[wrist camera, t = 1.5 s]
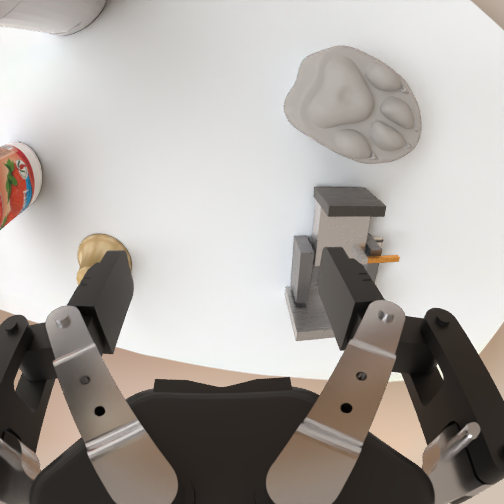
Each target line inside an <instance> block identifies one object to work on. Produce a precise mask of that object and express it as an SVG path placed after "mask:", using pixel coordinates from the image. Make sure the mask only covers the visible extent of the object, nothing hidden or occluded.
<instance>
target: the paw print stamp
mask: <svg viewBox="0 0 504 504" xmlns="http://www.w3.org/2000/svg"><path fill="white" fill-rule="evenodd" d="M284 112H285V115H286V117H287V119H288V121H289V122H290V123H291V124H292V125H293V126H294V127H295V128H296V129H298V130H299V131H301V132H302V133H304V134H306V135H307V136H309V137H310V138H312V139H313V140H315V141H317V142H318V143H320V144H322V145H324V146H325V147H327V148H329V149H330V150H332V151H334V152H336V153H338V154H340V155H342V156H345V157H347V158H349V159H352V160H354V161H357V162H360V163H365V164H374V163H385V162H391V161H394V160H397V159H399V158H401V157H403V156H405V155H406V154H408V153H409V152H411V151H412V150H413V149H414V148H415V146H416V145H417V143H418V141H419V138H420V134H421V116H420V110H419V107H418V104H417V101H416V99H415V97H414V95H413V93H412V91H411V90H410V88H409V86H408V84H407V83H406V81H405V80H404V79H403V78H402V77H401V76H400V75H399V74H398V73H396V72H395V71H394V70H393V69H391V68H390V67H389V66H387V65H386V64H384V63H383V62H381V61H380V60H378V59H376V58H374V57H372V56H370V55H368V54H366V53H364V52H362V51H360V50H357V49H355V48H352V47H348V46H335V47H331V48H328V49H325V50H322V51H319V52H316V53H314V54H311V55H309V56H307V57H306V58H305V59H304V60H303V61H302V62H301V64H300V67H299V71H298V75H297V79H296V81H295V84H294V85H293V87H292V89H291V90H290V92H289V93H288V95H287V97H286V99H285V102H284Z"/></svg>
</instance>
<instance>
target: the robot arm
mask: <svg viewBox="0 0 504 504" xmlns="http://www.w3.org/2000/svg"><path fill="white" fill-rule="evenodd" d="M106 1H107V0H0V27H10V28H18V29H26V30H33V31H39V32H45V33H49V34H56V35H69V34H73V33H75V32H78V31H80V30H82V29H83V28H85V27H86V26H88V25H89V24H90V23H91V22H92V21H93V20H94V19H95V18H96V17H97V16H98V15H99V14H100V12H101V11H102V9H103V8H104V5H105V3H106ZM317 287H318V293H319V296H320V298H321V301H322V303H323V306H324V309H325V311H326V314H327V316H328V319H329V322H330V324H331V327H332V330H333V333H334V335H335V338H336V341H337V343H338V346H339V349H340V351H342V350H345V351H344V353H343V355H342V357H341V358H340V360H339V362H338V364H337V366H336V368H335V370H334V371H333V373H332V375H331V377H330V378H329V380H328V382H327V384H326V385H325V387H324V389H323V391H322V392H321V394H320V395H318V394H316V393H313V392H312V391H309V390H306V389H302V388H297V387H292V386H291V381H290V377H283V378H269V379H256V380H252V381H248V382H244V383H240V384H236V385H231V386H227V387H216V386H211V385H206V384H202V383H197V382H193V381H188V380H166V379H155V383H154V389H149V390H145V391H142V392H139V393H137V394H135V395H133V396H131V397H129V398H127V399H126V400H125V398H124V397H123V395H122V393H121V392H120V390H119V388H118V386H117V385H116V383H115V381H114V379H113V378H112V376H111V374H110V372H109V370H108V368H107V367H106V365H105V363H104V361H103V359H102V354H103V353H104V354H113V353H114V350H115V346H116V343H117V340H118V337H119V334H120V331H121V328H122V325H123V322H124V319H125V316H126V313H127V310H128V308H129V305H130V302H131V299H132V296H133V290H134V287H133V279H132V275H131V271H130V266H129V262H128V257H127V253H126V251H125V250H108V251H107V252H106V253H105V255H104V256H103V258H102V260H101V261H100V262H96V263H95V264H94V265H93V266H92V267H90V268H89V269H88V270H87V272H86V273H85V275H84V277H83V279H82V280H81V282H80V283H79V286H78V287H77V289H76V290H75V292H74V294H73V296H72V297H71V299H70V301H69V303H68V304H67V306H62V307H59V308H57V309H55V310H54V311H52V312H51V313H50V314H49V315H48V317H47V319H46V322H45V323H40V324H35V325H29V323H28V321H27V319H26V318H25V317H24V316H22V315H14V316H11V317H9V318H7V319H6V320H5V321H4V322H3V323H2V324H1V325H0V504H448V503H451V504H459V503H462V502H464V501H466V500H467V499H470V498H471V497H473V496H475V495H477V494H479V493H480V492H482V491H484V490H485V489H487V488H489V487H490V486H492V485H494V484H495V483H497V482H499V481H500V480H502V479H503V478H504V401H503V399H502V397H501V395H500V393H499V391H498V389H497V387H496V385H495V383H494V381H493V380H492V378H491V376H490V374H489V372H488V370H487V369H486V367H485V365H484V364H483V362H482V360H481V358H480V357H479V355H478V353H477V351H476V350H475V348H474V346H473V345H472V343H471V341H470V340H469V338H468V337H467V335H466V333H465V332H464V330H463V329H462V327H461V326H460V324H459V322H458V321H457V319H456V318H455V317H454V316H453V315H452V314H451V313H450V312H448V311H446V310H444V309H440V308H432V309H430V310H428V311H427V313H426V315H425V317H424V319H423V318H416V317H409V316H405V313H404V311H403V310H402V308H401V307H399V306H398V305H397V304H395V303H393V302H390V301H386V300H384V298H383V296H382V295H381V293H380V291H379V290H378V288H377V287H376V285H375V283H374V282H373V281H372V279H371V277H370V276H369V274H368V272H367V271H366V269H365V268H364V266H363V265H362V264H361V263H359V262H358V261H357V260H355V259H354V258H349V257H348V255H347V254H346V252H345V250H344V249H343V247H324V248H323V250H322V255H321V261H320V267H319V273H318V279H317ZM437 364H438V365H439V367H440V369H441V371H442V373H443V377H444V381H443V379H442V377H441V375H440V373H439V371H438V369H437V367H436V365H437ZM19 368H20V370H21V371H22V375H21V378H20V380H19V383H18V385H17V388H16V391H15V390H14V379H15V377H16V374H17V371H18V369H19ZM391 372H399V373H401V374H402V376H403V379H404V381H405V384H406V386H407V389H408V392H409V394H410V397H411V400H412V402H413V405H414V408H415V410H416V413H417V416H418V419H419V422H420V424H421V428H422V430H423V433H424V436H425V439H426V442H427V447H426V448H425V450H424V453H423V465H422V468H420V467H419V466H418V465H416V464H415V463H413V462H412V461H410V460H409V459H407V458H406V457H404V456H403V455H402V454H400V453H399V452H397V451H396V450H394V449H393V448H391V447H390V446H388V445H387V444H386V443H384V442H383V441H381V440H380V439H379V438H377V437H376V436H374V435H373V434H372V433H370V432H369V429H370V426H371V424H372V422H373V419H374V417H375V414H376V412H377V409H378V407H379V404H380V402H381V399H382V397H383V394H384V391H385V389H386V386H387V383H388V380H389V378H390V375H391ZM56 378H58V380H59V383H60V385H61V388H62V391H63V394H64V396H65V399H66V401H67V404H68V407H69V409H70V411H71V414H72V416H73V418H74V421H75V423H76V425H77V428H78V430H79V432H80V434H81V438H80V439H79V440H78V441H77V442H75V443H74V444H73V445H72V446H71V447H69V448H68V449H67V450H66V451H65V452H64V453H62V454H61V455H60V456H59V457H58V458H56V459H55V460H54V461H53V462H52V463H50V465H48V466H47V467H46V468H44V469H43V470H42V471H41V470H40V463H39V460H38V457H37V456H36V454H35V453H36V448H37V444H38V440H39V435H40V431H41V427H42V423H43V419H44V416H45V412H46V408H47V405H48V401H49V398H50V395H51V391H52V388H53V385H54V382H55V379H56Z"/></svg>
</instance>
